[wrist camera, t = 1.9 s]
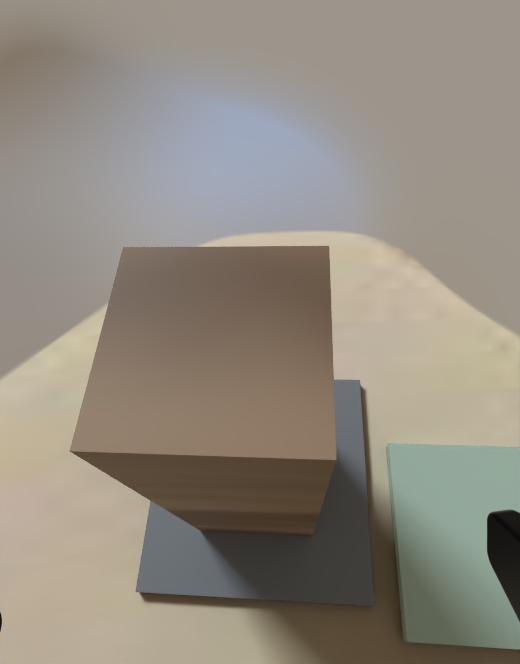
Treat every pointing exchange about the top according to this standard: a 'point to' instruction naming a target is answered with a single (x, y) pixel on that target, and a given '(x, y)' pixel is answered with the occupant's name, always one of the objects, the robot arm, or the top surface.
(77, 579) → the top surface
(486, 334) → the top surface
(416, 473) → the sage board
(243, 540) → the card
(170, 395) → the walnut block
